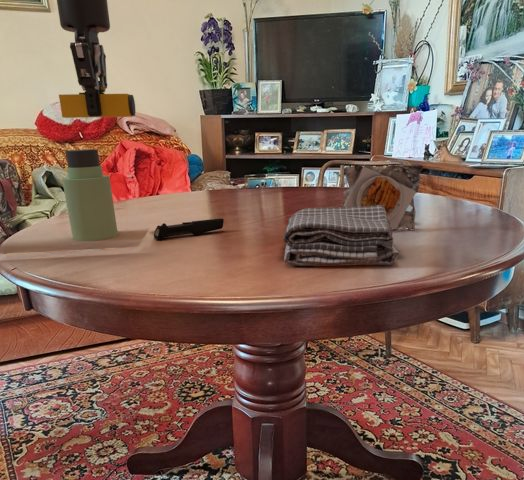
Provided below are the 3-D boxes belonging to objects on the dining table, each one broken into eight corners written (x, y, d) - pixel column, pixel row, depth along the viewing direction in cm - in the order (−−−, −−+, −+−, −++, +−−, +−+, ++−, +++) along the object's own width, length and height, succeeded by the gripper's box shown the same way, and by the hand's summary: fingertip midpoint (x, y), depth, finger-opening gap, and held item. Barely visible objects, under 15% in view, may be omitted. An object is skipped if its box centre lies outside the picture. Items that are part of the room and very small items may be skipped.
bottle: (69, 248, 102) (50, 152, 94) (79, 239, 110) (64, 149, 103) (114, 246, 102) (100, 150, 95) (122, 237, 111) (109, 148, 103)
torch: (62, 117, 84) (58, 92, 83) (67, 117, 87) (64, 93, 86) (133, 116, 85) (130, 91, 83) (136, 116, 88) (133, 92, 86)
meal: (344, 234, 105) (346, 167, 100) (341, 230, 109) (343, 166, 104) (417, 232, 105) (423, 165, 100) (411, 228, 109) (417, 163, 104)
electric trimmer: (227, 233, 112) (226, 218, 110) (158, 241, 105) (156, 225, 104) (220, 230, 115) (219, 216, 114) (153, 238, 109) (151, 223, 107)
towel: (288, 247, 96) (288, 205, 93) (387, 247, 94) (391, 203, 91) (282, 269, 82) (282, 219, 79) (398, 268, 80) (402, 218, 77)
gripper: (69, 4, 85) (85, 117, 92) (41, -17, 72) (63, 116, 79) (114, 4, 86) (127, 116, 93) (95, -18, 73) (112, 115, 80)
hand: (97, 115), depth 86 cm, fingers closed on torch, 3 cm apart
